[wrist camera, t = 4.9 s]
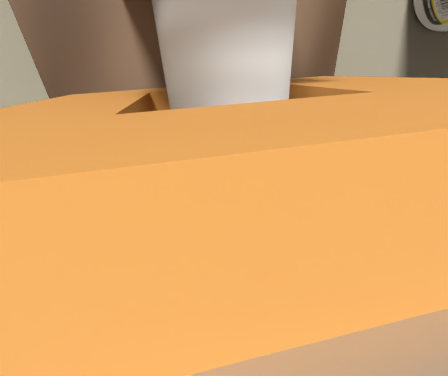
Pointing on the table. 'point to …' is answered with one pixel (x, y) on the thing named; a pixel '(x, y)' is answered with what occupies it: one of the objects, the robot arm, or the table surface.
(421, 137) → the collar
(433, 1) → the supplement bottle
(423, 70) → the table surface
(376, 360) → the robot arm
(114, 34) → the pipe stand
